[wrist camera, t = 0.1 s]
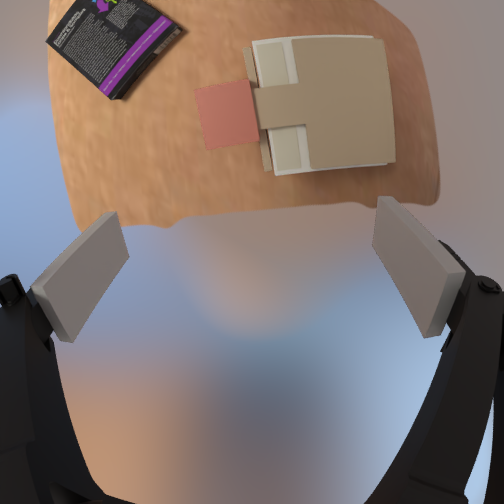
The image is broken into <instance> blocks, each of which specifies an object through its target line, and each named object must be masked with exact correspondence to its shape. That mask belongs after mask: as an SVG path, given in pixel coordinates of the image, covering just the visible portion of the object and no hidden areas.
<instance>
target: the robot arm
mask: <svg viewBox="0 0 504 504" xmlns="http://www.w3.org/2000/svg"><path fill="white" fill-rule="evenodd" d="M372 246H373V248H374V249H375V251H376V253H377V254H378V256H379V258H380V259H381V261H382V263H383V264H384V266H385V268H386V269H387V271H388V273H389V275H390V276H391V278H392V280H393V281H394V283H395V285H396V287H397V288H398V290H399V292H400V294H401V296H402V297H403V299H404V301H405V303H406V305H407V307H408V308H409V310H410V312H411V314H412V316H413V318H414V320H415V322H416V324H417V326H418V327H419V330H420V332H421V334H422V336H423V338H429V337H434V336H439V335H441V333H442V331H443V329H444V327H445V324H446V323H447V324H448V326H449V328H450V329H451V331H450V333H449V335H448V337H447V339H446V341H445V343H444V345H443V347H442V349H441V351H440V352H442V355H441V358H440V361H439V364H438V367H437V369H436V372H435V375H434V377H433V380H432V383H431V385H430V388H429V390H428V392H427V395H426V397H425V400H424V402H423V404H422V406H421V409H420V411H419V413H418V415H417V417H416V419H415V421H414V423H413V425H412V427H411V429H410V432H409V433H408V435H407V437H406V439H405V441H404V443H403V444H402V446H401V448H400V450H399V452H398V453H397V455H396V457H395V459H394V460H393V462H392V464H391V465H390V467H389V469H388V470H387V472H386V474H385V475H384V477H383V478H382V480H381V481H380V483H379V484H378V486H377V487H376V489H375V490H374V492H373V493H372V494H371V496H370V497H369V498H368V499H367V501H366V502H365V503H364V504H468V499H467V497H466V496H465V495H464V490H465V487H466V484H467V482H468V479H469V477H470V474H471V472H472V469H473V466H474V464H475V461H476V458H477V455H478V452H479V449H480V446H481V443H482V440H483V436H484V432H485V429H486V425H487V422H488V418H489V414H490V409H491V404H492V400H494V419H493V441H492V453H491V463H490V470H489V477H488V484H487V489H486V494H485V499H484V503H483V504H504V292H503V291H502V289H501V287H500V286H499V284H498V283H496V282H495V281H494V280H492V279H491V278H489V277H486V276H476V275H475V274H474V273H473V272H472V271H471V269H470V268H469V267H468V266H467V265H466V264H465V263H464V262H463V261H462V260H461V259H460V257H459V256H458V255H457V254H455V252H454V251H453V250H452V249H451V248H450V247H449V246H448V245H447V244H445V243H443V242H441V241H440V240H437V239H436V238H435V237H434V236H433V235H432V234H431V233H430V232H429V231H428V230H427V229H426V228H425V227H424V226H423V225H422V224H421V223H420V222H419V221H418V220H417V219H416V218H415V217H414V216H413V215H412V214H411V213H410V212H408V211H407V210H406V209H405V208H404V207H403V206H402V205H401V204H400V203H399V202H398V201H397V200H396V199H394V198H393V197H392V196H378V201H377V211H376V220H375V229H374V237H373V244H372ZM128 258H129V254H128V251H127V247H126V244H125V241H124V237H123V234H122V230H121V226H120V223H119V219H118V215H117V211H115V212H107V213H104V214H103V215H102V216H101V217H99V218H98V219H97V220H96V221H95V222H94V223H93V224H92V225H91V226H89V227H88V228H87V229H86V230H85V231H84V232H83V233H82V234H81V235H80V236H79V237H78V238H77V239H75V241H73V242H72V243H71V244H70V245H69V246H68V247H67V248H66V249H65V250H64V251H63V252H62V253H61V254H60V255H59V256H58V257H57V258H56V259H55V260H54V261H53V262H52V263H51V264H50V266H49V267H48V268H47V269H46V270H45V271H44V272H43V273H42V274H41V275H40V276H39V277H38V278H37V280H35V282H34V283H33V284H32V285H31V286H30V289H29V291H28V292H27V293H25V290H24V288H23V287H22V284H21V282H20V280H19V278H18V276H17V275H16V274H10V275H8V276H6V277H4V278H2V279H1V280H0V304H1V305H2V307H1V308H0V504H135V503H131V502H128V501H124V500H121V499H118V498H115V497H112V496H109V495H106V494H105V493H104V492H103V491H102V490H101V489H100V487H99V486H98V485H97V484H96V483H95V482H94V480H93V479H92V477H91V475H90V472H89V470H88V468H87V466H86V463H85V460H84V457H83V455H82V452H81V449H80V446H79V444H78V441H77V438H76V435H75V432H74V429H73V426H72V422H71V419H70V416H69V412H68V408H67V404H66V401H65V397H64V393H63V388H62V384H61V379H60V375H59V370H58V365H57V359H56V354H55V347H54V342H53V340H52V338H51V337H50V335H51V333H52V332H53V330H54V332H55V333H56V335H57V337H58V338H59V340H60V341H64V342H70V343H73V342H74V340H75V339H76V337H77V335H78V334H79V332H80V330H81V329H82V327H83V326H84V324H85V322H86V321H87V319H88V318H89V316H90V314H91V313H92V311H93V310H94V308H95V306H96V305H97V303H98V302H99V300H100V299H101V297H102V296H103V294H104V293H105V291H106V290H107V288H108V287H109V285H110V284H111V282H112V281H113V279H114V278H115V276H116V275H117V274H118V272H119V271H120V269H121V268H122V266H123V265H124V264H125V262H126V261H127V260H128Z"/></svg>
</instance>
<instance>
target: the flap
mask: <svg viewBox="0 0 504 504" xmlns="http://www.w3.org/2000/svg"><path fill="white" fill-rule="evenodd" d="M291 43H292V48H293V54H294V59H295V64H296V70H297V76H298V82H299V83H296V84H286V85H277V86H269V87H262V88H255V89H251V85H250V80H249V79H244V80H238V81H233V82H227V83H222V84H217V85H213V86H208V87H204V88H200V89H195V90H194V92H195V97H196V102H197V107H198V112H199V116H200V121H201V126H202V131H203V135H204V140H205V145H206V149H207V150H210V149H215V148H220V147H226V146H231V145H237V144H243V143H249V142H255V141H260V135H259V130H260V129H267V128H275V127H282V126H291V125H300V124H305V128H306V135H307V143H308V151H309V159H310V167H311V169H317V168H327V167H338V166H349V165H362V164H376V163H394V162H396V153H395V131H394V117H393V105H392V96H391V87H390V79H389V72H388V65H387V59H386V53H385V48H384V42H383V39H375V38H353V37H323V38H302V39H292V40H291Z"/></svg>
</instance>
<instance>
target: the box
mask: <svg viewBox="0 0 504 504" xmlns="http://www.w3.org/2000/svg"><path fill="white" fill-rule="evenodd" d="M181 31H183V30H182V29H181V28H180V27H179V26H178V25H177V24H175V23H174V22H172V21H171V20H169V19H168V18H167V17H165V16H164V15H162V14H161V13H159V12H158V11H157V10H155V9H154V8H152V7H151V6H149V5H148V4H146V3H145V2H143V1H142V0H76V1H75V2H74V3H73V5H72V6H71V7H70V8H69V10H68V11H67V12H66V14H65V15H64V16H63V18H62V19H61V20H60V22H59V23H58V25H57V26H56V27H55V29H54V30H53V32H52V33H51V35H50V36H49V37H48V38H47V40H46V43H48V44H49V45H50V46H51V47H52V48H53V49H54V50H56V51H57V52H58V53H59V54H60V55H61V56H62V57H63V58H65V59H66V60H67V61H68V62H69V63H70V64H71V65H73V66H74V67H75V68H76V69H77V70H78V71H79V72H80V73H81V74H83V75H84V76H85V77H86V78H87V79H88V80H89V81H90V82H92V83H93V84H94V85H95V86H96V87H97V88H98V89H99V90H100V91H101V92H103V93H104V94H105V95H106V96H107V97H108V98H109V99H110V100H116V99H121V98H122V97H123V95H124V94H125V93H126V92H127V90H128V89H129V88H130V87H131V85H132V84H133V83H134V82H135V80H136V79H137V78H138V77H139V76H140V74H141V73H142V72H143V71H144V70H145V69H146V68H147V66H148V65H149V64H150V63H151V62H152V61H153V60H154V59H155V58H156V56H157V55H158V54H159V53H160V52H161V51H162V50H163V49H164V48H165V47H166V46H167V45H168V44H169V43H170V42H171V41H172V40H173V39H174V38H175V37H176V36H177V35H178V34H179V33H180V32H181Z"/></svg>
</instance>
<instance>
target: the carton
mask: <svg viewBox="0 0 504 504" xmlns="http://www.w3.org/2000/svg"><path fill="white" fill-rule="evenodd" d="M323 37H353V38H373V36H366V35H309V36H293V37H282V38H273V39H264V40H257V41H252V45H253V50H254V55H255V60H256V65H257V71H258V76H259V81H260V87H261V88H262V87H269V86H277V85H286V84H296V83H299V82H298V76H297V70H296V64H295V59H294V54H293V48H292V43H291V40H292V39H302V38H323ZM242 49H243V54H244V59H245V64H246V69H247V75H248V79H249V80H250V85H251V89H255V88H259V84H258V79H257V73H256V68H255V63H254V58H253V54H252V50H251V47H247V48H242ZM268 133H269V139H270V146H271V152H272V158H273V165H274V171H275V176H278V175H286V174H294V173H302V172H311V171H320V170H330V169H340V168H352V167H365V166H379V165H387V163H376V164H362V165H349V166H338V167H327V168H317V169H311V167H310V159H309V151H308V143H307V135H306V128H305V124H300V125H291V126H282V127H275V128H268ZM259 135H260V147H261V153H262V159H263V165H264V171H272V163H271V155H270V148H269V142H268V136H267V130H266V129H260V130H259Z"/></svg>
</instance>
